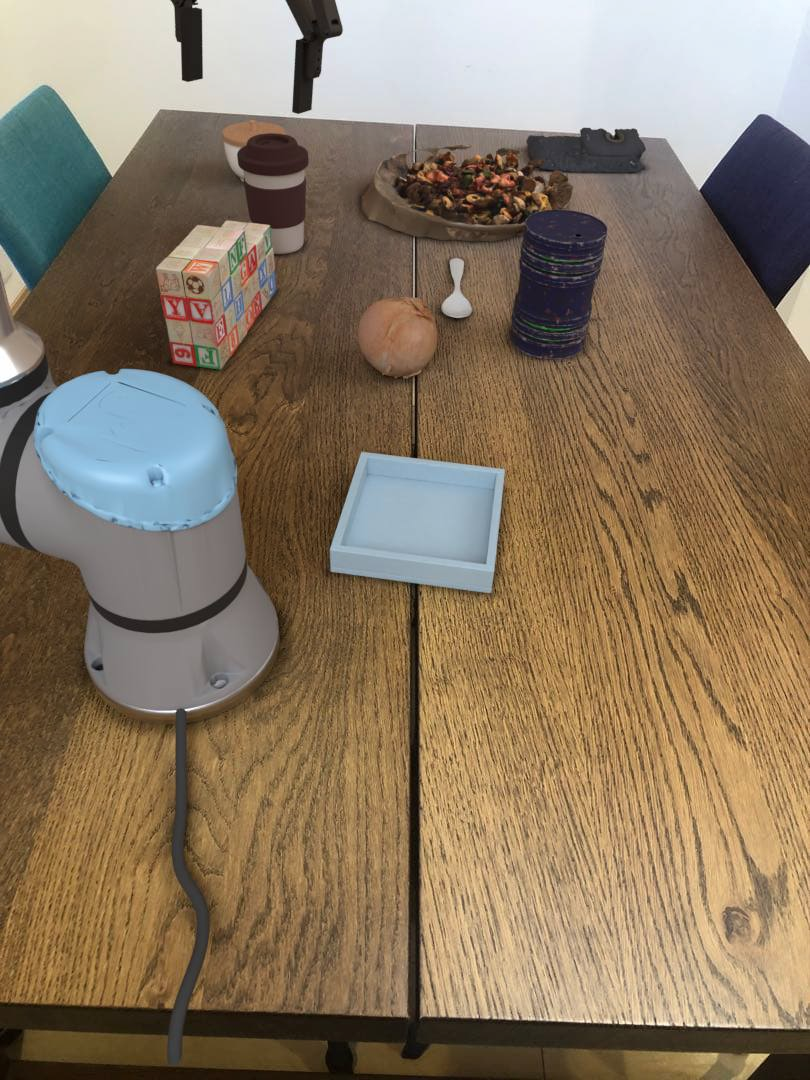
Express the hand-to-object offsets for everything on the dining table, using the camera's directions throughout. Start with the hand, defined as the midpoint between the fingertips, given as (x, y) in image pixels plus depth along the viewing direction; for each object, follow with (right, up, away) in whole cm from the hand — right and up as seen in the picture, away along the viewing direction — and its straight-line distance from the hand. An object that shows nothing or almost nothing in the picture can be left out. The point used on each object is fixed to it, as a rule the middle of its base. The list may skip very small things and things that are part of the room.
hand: (246, 95), depth 87 cm
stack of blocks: (-6, -19, +19) cm, 28 cm away
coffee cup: (-2, -3, +37) cm, 38 cm away
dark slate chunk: (+51, +26, +70) cm, 91 cm away
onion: (+16, -26, +13) cm, 33 cm away
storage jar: (+35, -21, +19) cm, 46 cm away
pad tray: (+18, -46, -8) cm, 50 cm away
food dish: (+27, +10, +52) cm, 59 cm away
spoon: (+24, -12, +28) cm, 39 cm away
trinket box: (-9, +16, +57) cm, 60 cm away
